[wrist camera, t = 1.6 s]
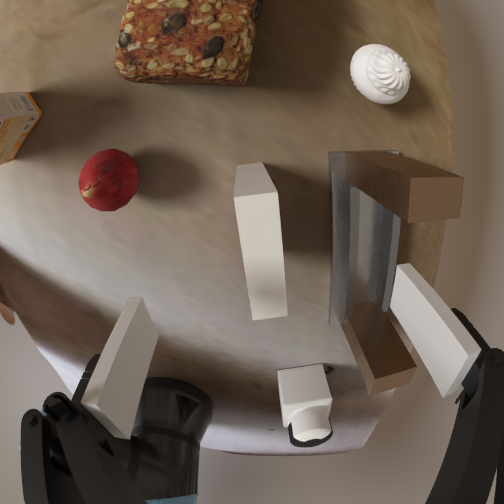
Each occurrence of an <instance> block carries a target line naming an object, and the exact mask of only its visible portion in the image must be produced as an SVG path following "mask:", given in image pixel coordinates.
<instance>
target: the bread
mask: <svg viewBox="0 0 504 504" xmlns="http://www.w3.org/2000/svg"><path fill="white" fill-rule="evenodd" d="M262 8H263V1H262V0H129V1H128V4H127V11H126V13H125V15H124V16H123V18H122V21H121V25H120V31H119V33H120V35H119V40H118V42H117V44H116V58H115V68H116V70H117V72H118V74H119V76H120V77H122V78H124V79H125V80H128V81H131V82H134V83H141V84H143V83H147V84H152V83H181V84H214V85H239V86H244V85H245V84H246V80H247V78H248V74H249V68H250V62H251V55H252V49H253V48H252V47H253V46H254V38H255V34H256V30H257V21H258V20H259V16H260V14H261V12H262Z"/></svg>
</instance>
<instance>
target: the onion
mask: <svg viewBox="0 0 504 504" xmlns="http://www.w3.org/2000/svg"><path fill="white" fill-rule="evenodd" d="M78 183H79V189H80V193H81V195H82V197H83V199H84V200H85V202H86V203H87V204H88V205H89V206H90V207H92V208H95V209H97V210H99V211H115V210H117V209H119V208H121V207H123V206H125V205H127V203H128V202H129V201H130V200H131V199H132V197H133V196H134V195H135V193H136V190H137V187H138V185H139V171H138V169H137V166H136V163H135V161H134V160H133V159H132V158H131V157H130V156H129V155H128V154H127V153H126V152H123V151H120V150H117V149H109V150H104V151H100V152H98V153H97V154H95V155H94V156H92V157H91V158H90V159H88V160H87V162H86V163H85V165H84V167H83V168H82V170H81V173H80V178H79V182H78Z"/></svg>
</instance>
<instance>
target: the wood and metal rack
mask: <svg viewBox="0 0 504 504" xmlns="http://www.w3.org/2000/svg"><path fill="white" fill-rule="evenodd" d="M328 157H329V175H330V200H331V279H330V305H329V325H330V326H334V325H340V324H341V326H342V329H343V331H344V333H345V336H346V338H347V341H348V343H349V345H350V348H351V350H352V353H353V355H354V358H355V360H356V363H357V365H358V367H359V370H360V373H361V375H362V378H363V380H364V383H365V385H366V388H367V390H368V393H369V395H373V394H376V393H380V392H383V391H387V390H390V389H393V388H396V387H399V386H402V385H406V384H408V383H410V381H411V379H412V376H413V374H414V372H415V370H416V368H417V366H416V364H415V362H414V360H413V359H412V357H411V355H410V353H409V352H408V350H407V348H406V347H405V345H404V343H403V341H402V340H401V338H400V336H399V335H398V333H397V331H396V330H395V328H394V327H393V325H392V323H391V322H390V320H389V319H388V317H387V315H386V314H385V312H386V311H388V308H389V303H390V297H391V292H392V286H393V280H394V274H395V267H396V260H397V253H398V245H399V236H400V225H401V219H402V220H404V221H405V222H406V223H415V222H424V221H433V220H443V219H452V218H459V217H460V209H461V201H462V191H463V179H464V178H463V177H460V176H458V175H456V174H454V173H451V172H448V171H446V170H443V169H440V168H438V167H435V166H432V165H429V164H426V163H423V162H420V161H417V160H414V159H411V158H408V157H405V156H402V155H399V151H396V150H368V151H337V152H328Z"/></svg>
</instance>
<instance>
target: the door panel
mask: <svg viewBox="0 0 504 504" xmlns="http://www.w3.org/2000/svg"><path fill="white" fill-rule="evenodd" d="M234 202H235V209H236V216H237V222H238V229H239V235H240V242H241V248H242V255H243V261H244V268H245V274H246V280H247V287H248V293H249V299H250V306H251V312H252V318H253V320H260V319H268V318H276V317H283V316H287V301H286V286H285V272H284V259H283V246H282V234H281V223H280V212H279V201H278V192H277V190H276V188H275V186H274V184H273V182H272V180H271V178H270V176H269V174H268V173H267V171H266V169H265V167H264V165H263V163H262V162H261V163H253V164H245V165H237V168H236V179H235V189H234Z"/></svg>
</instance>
